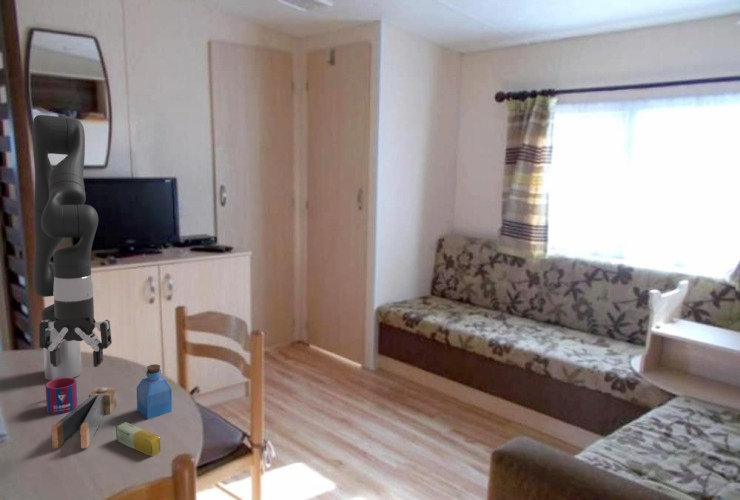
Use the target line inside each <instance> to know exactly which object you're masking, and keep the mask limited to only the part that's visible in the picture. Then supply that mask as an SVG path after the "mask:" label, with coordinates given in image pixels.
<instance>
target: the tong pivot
mask: <svg viewBox="0 0 740 500" xmlns="http://www.w3.org/2000/svg"><path fill="white" fill-rule="evenodd" d="M91 395H97V397H98V395H104V415H110V414H112V412H113V411H114V410H115V408H117V387H95V388H93V390H92V391H91V392H90V393H89V394H88V398H89V397H90V396H91Z"/></svg>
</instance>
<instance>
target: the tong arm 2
mask: <svg viewBox="0 0 740 500" xmlns="http://www.w3.org/2000/svg"><path fill="white" fill-rule="evenodd" d="M104 416H105V414H104V395H98V397H97V399H96V400H95V402H94V404H93V406H92V408H91V409H90V411H89V413H88V415H87V416H86V418H85V420H84V422H83V424H82V425H81V427H80V430H79V431H80V448H81V449H88V447H89V445H90V443H91V442H92V440H93V437H94V435H95V433H96V431H97V430H98V427H99V425H100V423H101V421H102V419H103V418H104Z"/></svg>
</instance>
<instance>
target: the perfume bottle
mask: <svg viewBox="0 0 740 500" xmlns="http://www.w3.org/2000/svg"><path fill="white" fill-rule="evenodd" d="M146 369H147V370H146V372H145V373H146V377H144V378H142V379H141V381H140V382H139V384H138V385H137V386H136V410H137V412H139V413H140V414H141V415H142V416H144V418H146V419H147V420H151V419H153V418H156V417H160V416H162V415H165V414H168V413H170V412H173V408H172V407H173V405H172V404H173V402H172V401H173V399H172V388H171V386H170V385H169V383H168V382H167V380H166V379H165V378H164V377H162V376H161V375H162V370H161V365H160V364H158V363H157V364H156V363H154V364H149V365H148V366H146Z"/></svg>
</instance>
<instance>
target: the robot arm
mask: <svg viewBox="0 0 740 500" xmlns="http://www.w3.org/2000/svg"><path fill="white" fill-rule="evenodd" d="M32 120H33V122H32V126H31V127H32V129H31V130H32V131H31V136H32V137H31V138H32V149H33V151H32V152H33V153H32V154H33V165H34V196H33V197H34V200H33V218H34V220H33V221H34V242H35V243H34V244H35V245H34V260H33V261H34V262H33V269H32V270H33V275H32V282H33V283H32V285H33V290H34V292H35V294H36V295H37V296H38V297H41V298H49V297H53V301H54V302H53V304H51V305H48V306H46V307H44V308H43V309H42V311H41V322H39V332H38V333H39V334H38V335H39V342H38V343H39V344H38V346H39V347H38V348H40V349H43V367H44V379H46V380H47V381H52V380H54V379H56V378H57V377H60V378H74V379H76V378H77V377H78V376H80V375H81V374H82V353H81V342H82V341H83V342H84V343H85V344H86V345H88V346H90V348H92V350H93V351H92V357H93V358H92V359H93V361H92V362H93V363H92V364H93V368H97V367H100V365H101V364H102V363H103V362H104V350H105V349H106V350H107V348H108V347H110V346H111V345H112V342H113V341H112V340H113V339H112V333H111V321H110V320H109V319H105V320H103V321H96V320H95V305H94V303H95V302H94V301H95V300H94V284H93V279H92V262H91V257H92V256H91V255H92V248H93V243H94V239H95V235H96V232H97V229H98V226H99V214H98V212H97V210H96V209H95V208H94V207H93V206H91V205H89V204H85V202H86V198H87V197H86V195H87V194H86V190H85V189H86V188H85V182H84V170H85V169H84V168H85V159H86V158H85V155H86V152H85V150H86V144H85V143H86V135H85V129H84V124H83V123H82V122H81V120H79V119H77V118H72V117H63V116H57V115H56V116H55V115H47V114H46V115H45V114H38V115H36V116H35V117H34V118H33V119H32ZM51 154H52V155H66V156H65V157H64V158H63V159H61V161H60V162H58V163H57V164H56V165H55V166H54V167H53V165H52V163H51V161H50V158H49V155H51ZM66 238H69V239H70V238H79V240H78V242H77V243H76V244H73V245H71V246H67V247H63V248H59V249H57V248H58V247H59V246H60V244H62V242H63V241H64V240H65V239H66ZM52 257H53V258H52ZM51 259H53V262H51ZM50 262H51V263H50ZM95 328H96V329H97V331H98V332H99V333H100V338H99V336H98V334H97V333H96V332H95V331H94V329H95Z"/></svg>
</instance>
